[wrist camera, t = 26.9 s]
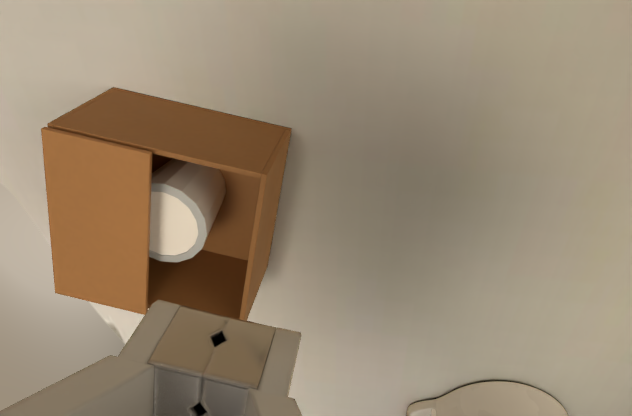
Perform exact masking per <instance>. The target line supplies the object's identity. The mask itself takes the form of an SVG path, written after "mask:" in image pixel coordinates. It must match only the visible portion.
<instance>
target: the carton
mask: <svg viewBox="0 0 632 416" xmlns="http://www.w3.org/2000/svg"><path fill="white" fill-rule="evenodd" d="M48 128H52V129H56V130H60V131H65V132H69V133H73V134H77V135H82V136H86V137H90V138H95V139H99V140H103V141H107V142H112V143H116V144H120V145H124V146H129V147H133V148H137V149H142V150H146V151H150V152H152V173H153V172H155V171H156V170H157V169H159V168H160V167H162V166H163V165H164V164H166V163H167V162H169V161H170V160H171V159H173V158H174V159H178V160H183V161H187V162H191V163H195V164H200V165H204V166H208V167H212V168H217V169H219V170H220V172H221V174H222V176H223V178H224V180H225V187H226V193H225V196H224V199H223V202H222V204H221V206H220V209H219V211H218V213H217V216H216V218H215V220H214V223H213V225H212V227H211V230H210V232H209V234H208V237H207V239H206V241H205V243H204V246H203V248H202V249H201V250H200V251H199V252H198V253H197V254H196V255H195V256H194V257H192V258H190V259H187V260H184V261H181V262H164V261H159V260H156V259H154V258H151V257H149V279H148V308H150V307H151V305H152V304H153V303H154V302H156V301H157V300H158V299H159V300H163V301H166V302H170V303H174V304H178V305H181V306H182V305H184V306H188V307H192V308H196V309H200V310H203V311H207V312H211V313H215V314H219V315H223V316H227V317H232V318H236V319H241V320H245V321H247V318H248V316H249V313H250V310H251V308H252V305H253V303H254V300H255V297H256V295H257V292H258V290H259V287H260V284H261V282H262V279H263V277H264V274H265V271H266V269H267V266H268V261H269V255H270V249H271V244H272V238H273V232H274V226H275V221H276V215H277V209H278V204H279V198H280V192H281V186H282V181H283V175H284V169H285V163H286V158H287V152H288V146H289V141H290V135H291V128H287V127H282V126H278V125H274V124H269V123H265V122H261V121H256V120H252V119H248V118H243V117H239V116H235V115H230V114H226V113H222V112H217V111H213V110H209V109H204V108H200V107H196V106H191V105H187V104H183V103H178V102H174V101H170V100H166V99H161V98H157V97H153V96H148V95H144V94H140V93H135V92H131V91H127V90H122V89H118V88H114V87H113V88H111V89H109V90H108V91H106V92H104V93H102V94H100V95H99V96H97V97H95V98H93V99H91V100H89V101H88V102H86V103H84V104H82V105H80V106H79V107H77V108H75V109H73V110H71V111H70V112H68V113H66V114H64V115H62V116H60V117H59V118H57V119H55V120H53V121H51V122H50V123H48Z"/></svg>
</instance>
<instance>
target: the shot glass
mask: <svg viewBox="0 0 632 416" xmlns="http://www.w3.org/2000/svg"><path fill="white" fill-rule="evenodd" d="M225 193H226V187H225V180H224V178H223V176H222V174H221V172H220V170H219V169H217V168H212V167H208V166H204V165H200V164H195V163H191V162H187V161H183V160H178V159H174V158H173V159H171V160H170V161H169V162H167V163H166V164H164V165H163V166H162V167H160V168H159V169H157V170H156V171H155V172H153V173H152V180H151V213H150V246H149V257H151V258H154V259H156V260H159V261H164V262H181V261H184V260H187V259H190V258H192V257H194V256H195V255H196V254H197V253H198V252H199V251H200V250H201V249H202V248H203V246H204V243H205V241H206V239H207V237H208V234H209V232H210V230H211V227H212V225H213V223H214V220H215V218H216V216H217V213H218V211H219V209H220V206H221V204H222V202H223V199H224V196H225Z"/></svg>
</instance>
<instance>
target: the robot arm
mask: <svg viewBox="0 0 632 416" xmlns="http://www.w3.org/2000/svg"><path fill="white" fill-rule="evenodd" d="M300 340H301V332H296V331H291V330H287V329H282V328H278V327H272V326H268V325H263V324H259V323H254V322H250V321H245V320H241V319H236V318H232V317H227V316H223V315H219V314H215V313H211V312H207V311H203V310H200V309H196V308H192V307H188V306H184V305H182V306H181V305H178V304H174V303H170V302H166V301H163V300H159V299H158V300H157V301H156V302H154V303H153V304H152V305H151V307H150V308H149V310H148V311H147V313H146V314H145V316H144V317H143V319H142V320H141V322H140V323H139V325H138V327H137V328H136V330H135V331H134V333H133V334H132V336H131V337H130V339H129V340H128V342H127V343H126V345H125V346H124V348H123V349H122V351H121V352H120V354H119V356H118V357H116V356H112V355H110V356H108V357H106V358H104V359H102V360H100V361H98V362H96V363H94V364H92V365H90V366H88V367H86V368H84V369H82V370H80V371H78V372H76V373H74V374H72V375H70V376H68V377H66V378H65V379H62V380H60V381H58V382H56V383H55V384H52V385H50V386H48V387H46V388H45V389H43V390H41V391H39V392H37V393H35V394H33V395H31V396H29V397H27V398H25V399H23V400H21V401H19V402H17V403H15V404H13V405H11V406H9V407H7V408H5V409H3V410H1V411H0V416H302V414H301V412H300V410H299V408H298V405H297V403H296V401H295V399H293V398H289V397H288V394H289V390H290V385H291V381H292V376H293V372H294V367H295V363H296V358H297V353H298V349H299V344H300ZM407 416H568V414H567V412H566V411H565V409H564V408H563V406H562V405H561V404H560V403H559V402H558V401H557V400H555V399H554V398H553V397H552V396H550V395H548V394H547V393H545V392H543V391H541V390H539V389H536V388H534V387H531V386H528V385H524V384H519V383H514V382H504V381H491V382H481V383H475V384H471V385H467V386H464V387H461V388H459V389H456V390H454V391H452V392H450V393H448V394H446V395H444V396H442V397H440V398H437V399H433V400H426V401H421V402H417V403H414V404H412V405H410V406H409V407H408V410H407Z"/></svg>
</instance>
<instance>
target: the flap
mask: <svg viewBox="0 0 632 416" xmlns="http://www.w3.org/2000/svg"><path fill="white" fill-rule="evenodd" d="M41 132H42V144H43V155H44V167H45V179H46V190H47V202H48V213H49V225H50V237H51V248H52V260H53V272H54V283H55V293H58V294H62V295H66V296H70V297H75V298H78V299H82V300H86V301H91V302H95V303H99V304H103V305H107V306H111V307H115V308H119V309H123V310H128V311H132V312H136V313H140V314H144V315H145V314H146V313H147V311H148V279H149V246H150V213H151V180H152V152H150V151H146V150H142V149H137V148H133V147H129V146H124V145H120V144H116V143H112V142H107V141H103V140H99V139H95V138H90V137H86V136H82V135H77V134H73V133H69V132H65V131H60V130H56V129H52V128H48V127H44V128H42V129H41Z"/></svg>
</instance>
